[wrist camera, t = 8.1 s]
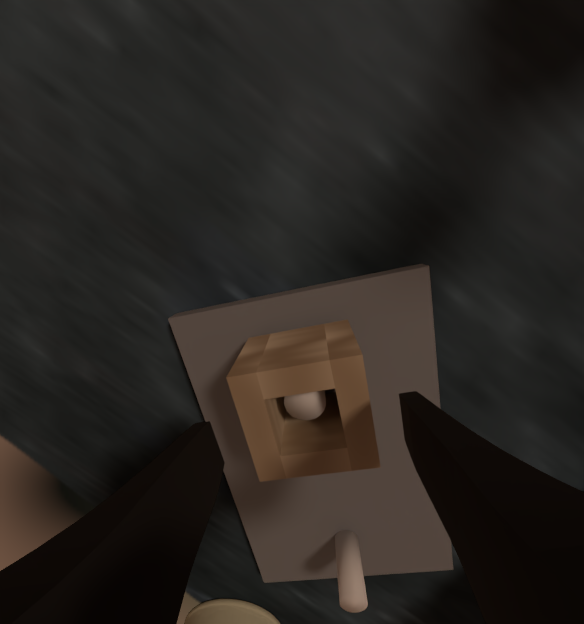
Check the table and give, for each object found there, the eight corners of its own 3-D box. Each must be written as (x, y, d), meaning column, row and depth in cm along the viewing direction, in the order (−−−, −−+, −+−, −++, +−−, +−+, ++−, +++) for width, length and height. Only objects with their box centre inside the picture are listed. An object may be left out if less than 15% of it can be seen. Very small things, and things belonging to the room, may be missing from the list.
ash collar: (347, 319, 14) (362, 354, 10) (362, 406, 15) (380, 467, 11) (248, 337, 14) (226, 377, 10) (272, 420, 16) (259, 481, 12)
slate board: (421, 263, 14) (473, 279, 10) (446, 553, 20) (486, 648, 16) (176, 313, 16) (122, 347, 11) (266, 567, 22) (254, 656, 17)
